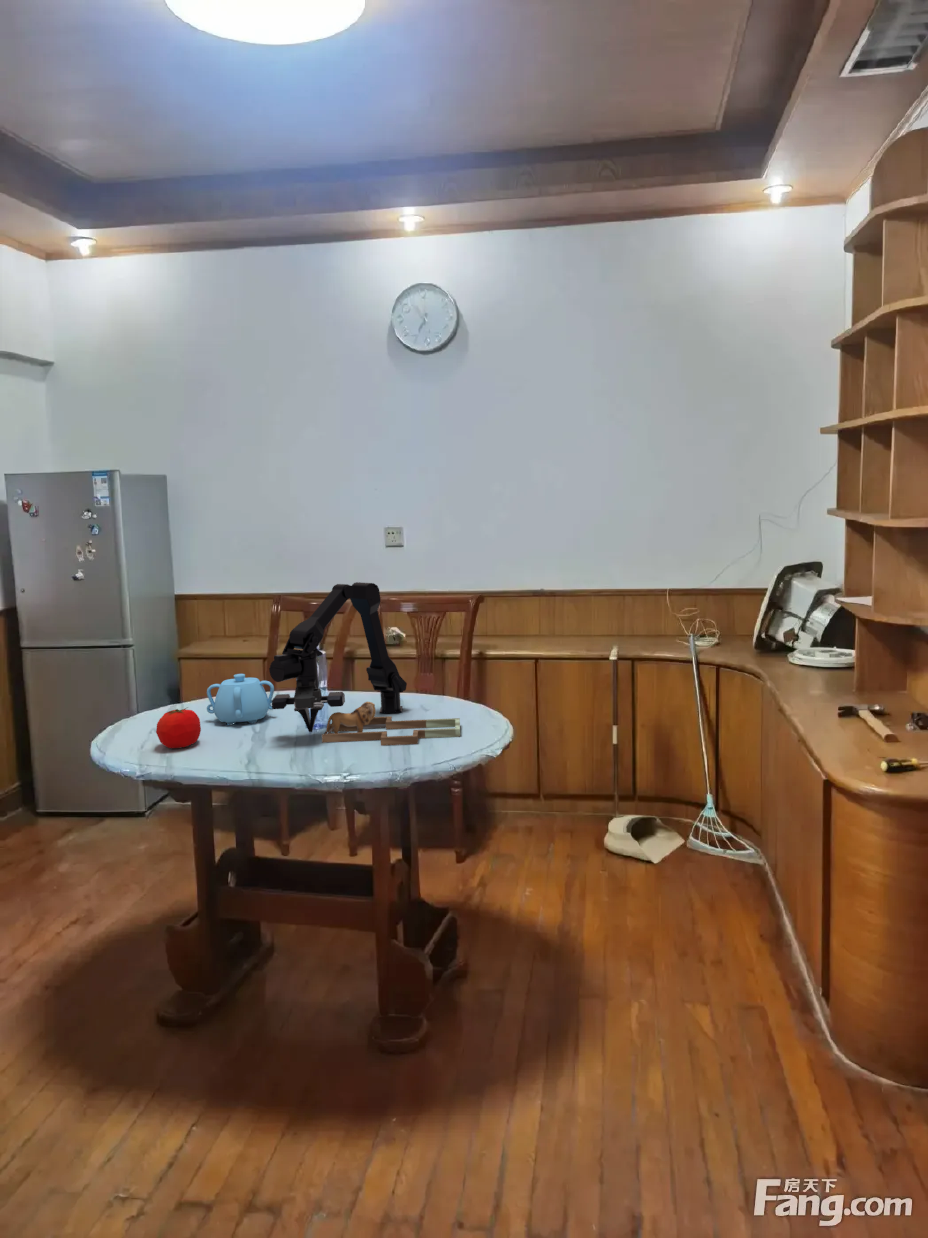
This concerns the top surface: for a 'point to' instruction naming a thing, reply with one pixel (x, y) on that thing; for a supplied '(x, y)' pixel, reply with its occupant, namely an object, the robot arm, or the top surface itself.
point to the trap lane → (389, 724)
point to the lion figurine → (352, 718)
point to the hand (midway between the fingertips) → (310, 731)
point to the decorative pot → (240, 699)
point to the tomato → (178, 728)
